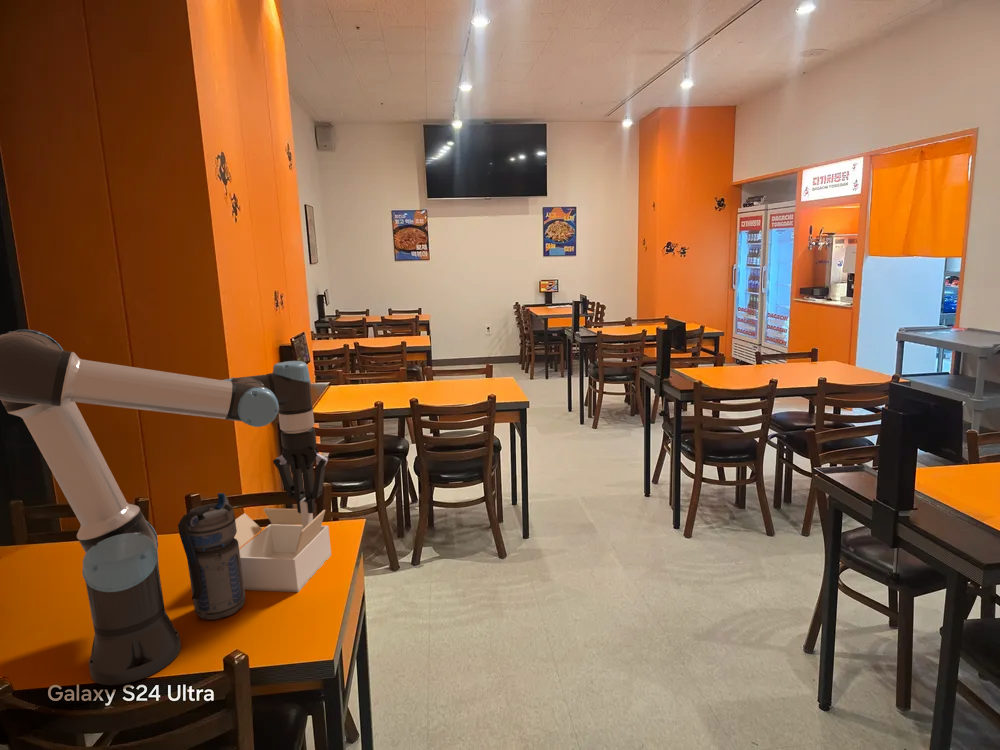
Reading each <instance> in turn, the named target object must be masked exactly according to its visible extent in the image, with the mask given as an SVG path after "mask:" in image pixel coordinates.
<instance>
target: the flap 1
mask: <svg viewBox="0 0 1000 750" xmlns="http://www.w3.org/2000/svg"><path fill="white" fill-rule="evenodd" d="M263 512H264V513H265V515H266V517H267V518H268V520H269V522H270V524H281V525H302V517H301V513H298V511H297V508H276V507H275V508H274V507H272V508H271V507H269V508H268V507H264V508H263Z"/></svg>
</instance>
